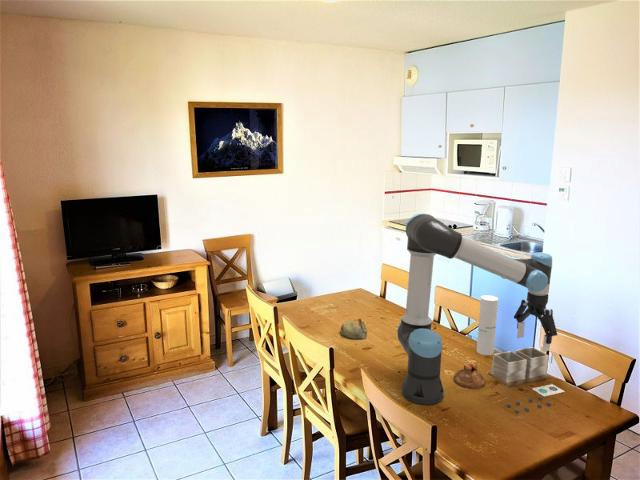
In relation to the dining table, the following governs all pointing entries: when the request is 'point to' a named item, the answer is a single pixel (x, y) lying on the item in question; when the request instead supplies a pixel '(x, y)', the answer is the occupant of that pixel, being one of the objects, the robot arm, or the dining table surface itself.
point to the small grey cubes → (527, 407)
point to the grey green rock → (354, 329)
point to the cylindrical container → (487, 325)
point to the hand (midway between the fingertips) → (532, 343)
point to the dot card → (548, 390)
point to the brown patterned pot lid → (469, 377)
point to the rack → (520, 366)
